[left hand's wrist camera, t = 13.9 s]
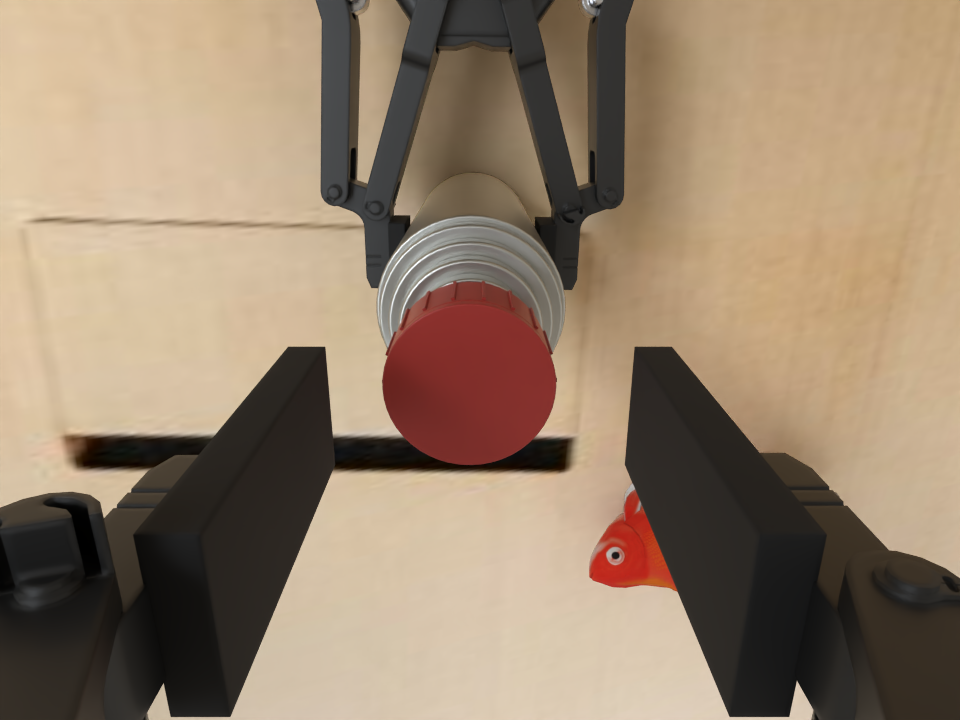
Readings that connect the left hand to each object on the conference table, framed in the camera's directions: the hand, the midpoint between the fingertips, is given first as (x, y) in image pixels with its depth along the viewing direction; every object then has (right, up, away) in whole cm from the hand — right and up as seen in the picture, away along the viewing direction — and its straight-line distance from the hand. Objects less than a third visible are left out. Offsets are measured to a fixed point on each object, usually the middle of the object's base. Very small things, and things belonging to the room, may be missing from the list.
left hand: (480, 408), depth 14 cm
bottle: (0, +8, +24) cm, 25 cm away
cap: (0, 0, +2) cm, 2 cm away
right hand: (0, +1, +20) cm, 20 cm away
